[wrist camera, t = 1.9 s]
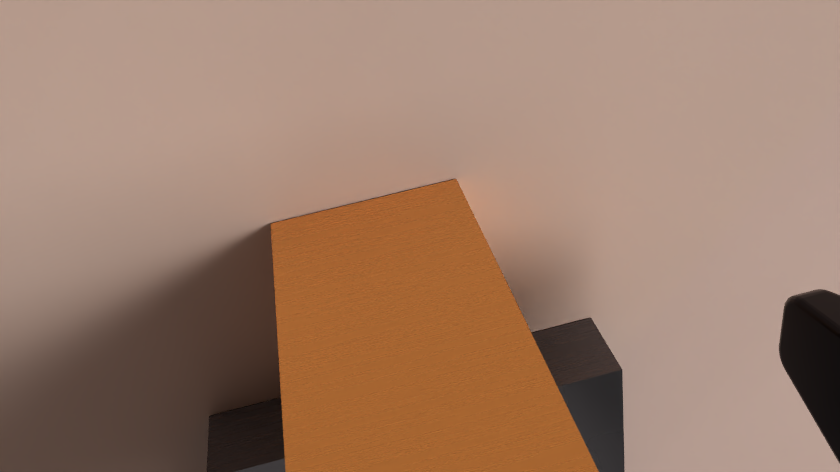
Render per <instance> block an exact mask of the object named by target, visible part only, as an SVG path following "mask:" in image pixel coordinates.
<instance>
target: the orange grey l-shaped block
mask: <svg viewBox="0 0 840 472" xmlns="http://www.w3.org/2000/svg"><path fill="white" fill-rule="evenodd" d="M271 238H272V255H273V271H274V288H275V304H276V321H277V338H278V354H279V371H280V387H281V398H278V399H274V400H270V401H266V402H262V403H258V404H255V405H251V406H247V407H243V408H239V409H235V410H231V411H227V412H223V413H220V414H216V415H212V416H209V436H208V457H207V472H624V432H623V387H622V369H621V367H620V365H619V364H618V362H617V360H616V359H615V357H614V355H613V354H612V352H611V350H610V349H609V347H608V345H607V344H606V342H605V340H604V339H603V337H602V335H601V334H600V332H599V330H598V329H597V327H596V326H595V324H594V322H593V321H592V319H591V318H588V319H585V320H581V321H577V322H573V323H569V324H565V325H561V326H557V327H554V328H550V329H546V330H542V331H538V332H534V333H531V331H530V329H529V327H528V325H527V323H526V321H525V319H524V317H523V315H522V313H521V311H520V309H519V307H518V305H517V303H516V301H515V299H514V297H513V295H512V292H511V290H510V288H509V286H508V284H507V282H506V280H505V278H504V276H503V274H502V272H501V270H500V268H499V266H498V264H497V262H496V260H495V258H494V256H493V253H492V251H491V249H490V247H489V245H488V243H487V241H486V239H485V237H484V235H483V233H482V231H481V229H480V227H479V225H478V223H477V221H476V219H475V217H474V214H473V212H472V210H471V208H470V206H469V204H468V202H467V200H466V198H465V196H464V194H463V192H462V190H461V188H460V186H459V184H458V182H457V180H456V179H454V180H449V181H445V182H441V183H437V184H433V185H429V186H425V187H420V188H416V189H412V190H408V191H404V192H400V193H396V194H391V195H387V196H383V197H379V198H375V199H371V200H367V201H362V202H358V203H354V204H350V205H346V206H342V207H338V208H333V209H329V210H325V211H321V212H317V213H313V214H309V215H304V216H300V217H296V218H292V219H288V220H284V221H280V222H275V223H271Z"/></svg>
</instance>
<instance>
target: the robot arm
mask: <svg viewBox="0 0 840 472" xmlns="http://www.w3.org/2000/svg"><path fill="white" fill-rule="evenodd" d="M779 353H780V358H781V362H782V364H783V366H784V368H785V370H786V372H787V374H788V375H789V377H790V379H791V381H792V382H793V384H794V386H795V388H796V389H797V391H798V393H799V394H800V396H801V398H802V400H803V401H804V403H805V405H806V406H807V408H808V410H809V412H810V413H811V415H812V417H813V418H814V420H815V422H816V424H817V425H818V427H819V429H820V431H821V432H822V434H823V436H824V437H825V439H826V441H827V443H828V444H829V446H830V448H831V449H832V451H833V453H834V455H835V456H836V458H837V460H838V461H839V463H840V295H838V294H835V293H833V292H830V291H827V290H822V289H820V290H813V291H810V292H806V293H802V294H798V295H794V296H792V297H790V298H788V300H787V301H786V303H785V306H784V312H783V320H782V327H781V335H780V343H779Z"/></svg>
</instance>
